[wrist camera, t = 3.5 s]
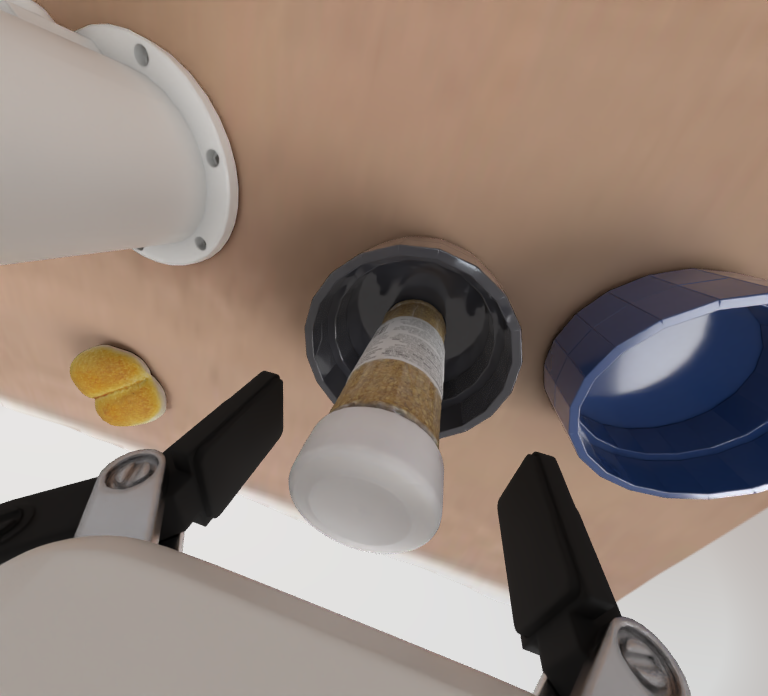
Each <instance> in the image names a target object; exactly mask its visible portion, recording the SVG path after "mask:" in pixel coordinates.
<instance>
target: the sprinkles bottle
mask: <svg viewBox="0 0 768 696" xmlns="http://www.w3.org/2000/svg"><path fill="white" fill-rule="evenodd" d="M445 336H446V326H445V322H444V319H443V317H442V314H441V313H440V312H439V311H438V310H437V309H436V308H435V307H434V306H432V305H431V304H429V303H427V302H424V301H422V300H415V299H412V300H405V301H402V302H399V303H397V304H395V305H394V306H393V307H392V308H390V310H389V311H388V312H387V313H386V315H385V316H384V320H383V322H382V325H381V326H380V327H379V328H378V330H377V331H376V333H375V334H374V336H373V338H372V339H371V341H370V342H369V344H368V346H367V347H366V349H365V351H364V353H363V354H362V356H361V358H360V359H359V361H358V363H357V364H356V366H355V368H354V369H353V371H352V372H351V374H350V376H349V378H348V380H347V382H346V385H345V387H344V388H343V390H342V392H341V394H340V396H339V397H338V399H337V401H336V403H335V404H334V406H333V407H332V409H331V411H330V413H329V414H328V415H326V416H325V417H324V418H322V419H321V420H320V421H319V422H318V423H317V425H316V426H315V427H314V429H313V431H312V432H311V434H310V435H309V437H308V439H307V440H306V442H305V444H304V445H303V447H302V449H301V451H300V453H299V454H298V456H297V458H296V460H295V462H294V464H293V466H292V468H291V471H290V475H289V490H290V495H291V498H292V500H293V502H294V504H295V506H296V508H297V509H298V511H299V512H300V513H301V515H302V516H303V517H304V518H305V519H306V520H307V521H308V522H309V523H310V524H311V525H312V526H313V527H314V528H316V529H317V530H318V531H320V532H321V533H323V534H324V535H326V536H328V537H329V538H331V539H333V540H335V541H337V542H339V543H341V544H343V545H346V546H348V547H351V548H354V549H358V550H361V551H366V552H372V553H379V554H396V553H403V552H408V551H412V550H414V549H417V548H419V547H421V546H423V545H424V544H426V543H427V542H428V541H429V540H430V539H431V538H432V537H433V536H434V535H435V533H436V532H437V530H438V528H439V525H440V522H441V517H442V507H443V480H444V465H443V460H442V456H441V454H440V451H439V432H440V416H441V415H440V414H441V402H442V396H443V382H444V358H445V349H444V341H445Z"/></svg>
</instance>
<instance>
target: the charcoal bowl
mask: <svg viewBox="0 0 768 696" xmlns="http://www.w3.org/2000/svg"><path fill="white" fill-rule="evenodd" d="M412 299H415V300H422V301H424V302H427V303H429V304H431V305H432V306H434V307H435V308H436V309H437V310H438V311H439V312H440V313H441V314H442V317H443V319H444V322H445V326H446V336H445V341H444V349H445V358H444V382H443V396H442V402H441V414H440V415H441V416H440V432H439V439H440V438H444V437H448V436H451V435H455V434H458V433H462V432H466V431H468V430H469V429H471V428H473V427H474V426H476V425H478V424H479V423H481V422H482V421H484V420H486V419H487V418H489V417H491V415H493V414H494V413H495V411H496V410H497V409H498V408H499V407H500V406H501V404H502V403H503V402H504V401H505V400H506V399H507V397H508V396H509V395H510V394H511V392H512V390H513V387H514V384H515V382H516V379H517V376H518V373H519V371H520V368H521V365H522V335H521V327H520V325H519V322H518V320H517V318H516V316H515V313H514V311H513V309H512V307H511V304H510V302H509V300H508V298H507V296H506V294H505V292H504V291H503V289H502V288H501V286H500V285H499V283H498V282H497V280H496V279H495V277H494V276H493V274H492V273H491V272H490V271H489V270H488V269H487V268H486V267H485V266H484V265H483V264H482V263H481V262H480V261H479V260H478V259H477V258H476V257H475V256H474V255H473V254H472V253H471V252H469V251H467V250H465V249H463V248H461V247H459V246H456V245H454V244H452V243H450V242H448V241H446V240H444V239H438V238H428V237H418V236H408V237H403V238H399V239H395V240H391V241H387V242H383V243H380V244H378V245H376V246H374V247H372V248H370V249H368V250H366V251H364V252H362V253H360V254H359V255H357V256H356V257H354V258H353V259H351V260H350V261H348V262H347V263H345V264H344V265H342V266H341V267H339V268H338V269H336V270H335V271H333V272H332V273H331V274H330V275H329V276H328V278H327V279H326V281H325V282H324V283H323V285H322V286H321V288H320V289H319V290H318V292H317V293H316V294H315V296H314V297H313V299H312V302H311V306H310V309H309V313H308V317H307V320H306V324H305V341H306V354H307V358H308V361H309V363H310V366H311V368H312V371H313V373H314V376H315V379H316V381H317V383H318V384H319V385H320V387H321V388H322V389H323V391H324V392H325V393H326V395H327V396H328V397H329V399H330V400H331V401H332V403H333V404H335V403H336V401H337V399H338V397H339V396H340V394H341V392H342V390H343V388H344V387H345V385H346V382H347V380H348V378H349V376H350V374H351V372H352V371H353V369H354V368H355V366H356V364H357V363H358V361H359V359H360V358H361V356H362V354H363V353H364V351H365V349H366V347H367V346H368V344H369V342H370V341H371V339H372V338H373V336H374V334H375V333H376V331H377V330H378V328H379V327H380V326H381V325H382V322H383V320H384V316H385V315H386V313H387V312H388V311H389V310H390V308H392V307H393V306H394V305H395V304H397V303H399V302H402V301H405V300H412Z"/></svg>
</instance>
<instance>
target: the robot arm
mask: <svg viewBox="0 0 768 696" xmlns="http://www.w3.org/2000/svg"><path fill="white" fill-rule="evenodd" d="M238 191H239V187H238V179H237V171H236V164H235V161H234V157H233V153H232V149H231V146H230V142H229V140H228V137H227V135H226V132H225V130H224V127H223V125H222V122H221V120H220V118H219V116H218V114H217V112H216V111H215V109H214V107H213V105H212V103H211V102H210V100H209V98H208V96H207V95H206V93H205V92H204V91H203V89H202V88H201V87H200V85H199V84H198V83H197V81H196V80H195V79H194V77H193V76H192V75H191V73H190V72H189V71H188V70H186V69H185V68H184V67H183V66H182V65H181V64H180V63H179V62H178V61H177V60H176V59H175V58H174V57H173V56H172V55H171V54H169V53H168V52H166V51H165V50H164V49H162V48H161V47H159V46H158V45H156V44H155V43H153V42H152V41H150V40H148V39H146V38H144V37H142V36H140V35H138V34H136V33H134V32H133V31H131V30H129V29H126V28H123V27H119V26H115V25H111V24H90V25H88V26H85V27H83V28H81V29H78V30H76V31H74V32H73V31H71V30H69V29H67V28H65V27H63V26H60V25H58V24H56V23H55V22H54V20H53V19H52V18H51V16H50V15H49V14H48V13H47V12H46V10H45V9H44V8H42V7H41V6H39V5H38V4H37V3H35V2H34V1H32V0H0V265H7V264H15V263H23V262H31V261H39V260H47V259H55V258H62V257H70V256H78V255H86V254H94V253H102V252H110V251H118V250H126V249H133V250H134V251H136V252H137V253H139V254H141V255H142V256H144V257H146V258H149V259H151V260H153V261H156V262H159V263H163V264H167V265H189V264H194V263H199V262H202V261H204V260H206V259H209V258H211V257H212V256H214V255H215V254H216V253H217V252H219V251H220V250H221V249H222V247H223V246H224V245H225V243H226V242H227V241H228V239H229V237H230V235H231V232H232V230H233V228H234V225H235V221H236V216H237V211H238ZM282 432H283V381H282V380H281V379H280V377H279V375H277V374H274V373H271V372H267V371H262V372H261V373H260V374H258V375H257V376H256V377H255V378H254V379H252V380H251V381H250V382H249V383H248V384H246V385H245V386H244V387H243V388H242V389H240V390H239V391H238V392H237V393H235V394H234V395H233V396H232V397H231V398H229V399H228V400H226V401H225V402H224V403H222V404H221V405H220V406H219V407H217V408H216V409H215V410H214V411H213V412H211V413H210V414H209V415H208V416H207V417H205V418H204V419H203V420H202V421H201V422H199V423H198V424H197V425H196V426H194V427H193V428H192V429H191V430H190V431H188V432H187V433H186V434H185V435H184V436H182V437H181V438H180V439H179V440H178V441H176V442H175V443H174V444H173V445H171V446H170V447H169V448H168V449H167V450H165V451H164V452H163V453H162V452H159V451H157V450H153V449H143V450H137V451H133V452H130V453H127V454H125V455H123V456H121V457H119V458H117V459H115V460H114V461H113V462H111V463H109V464H108V465H107V466H106V467H105V468H104V469H103V470H102V471H101V473H100V475H99V476H98V477H96V478H92V479H89V480H85V481H81V482H78V483H74V484H70V485H66V486H63V487H59V488H56V489H52V490H48V491H44V492H40V493H37V494H33V495H30V496H26V497H22V498H18V499H15V500H11V501H8V502H5V503H2V504H0V696H691V694H690V690H689V687H688V684H687V681H686V679H685V676H684V674H683V673H682V671H681V669H680V667H679V665H678V663H677V662H676V660H675V659H674V658H673V656H672V655H671V653H670V652H669V651H668V649H667V648H666V647H665V646H664V645H663V644H662V642H661V641H660V640H659V639H658V638H657V637H656V636H655V635H654V634H653V633H652V632H650V631H649V630H648V629H646V628H645V627H644V626H643V625H642V624H640V623H638V622H636V621H635V620H633V619H630V618H626V617H622V616H621V614H620V611H619V609H618V606H617V604H616V601H615V599H614V597H613V594H612V592H611V589H610V587H609V584H608V582H607V580H606V577H605V575H604V572H603V570H602V567H601V565H600V563H599V560H598V558H597V555H596V553H595V550H594V548H593V546H592V543H591V541H590V538H589V536H588V533H587V531H586V529H585V526H584V524H583V521H582V519H581V516H580V514H579V512H578V510H577V508H576V507H575V505H574V502H573V500H572V498H571V495H570V493H569V490H568V488H567V485H566V483H565V480H564V478H563V475H562V473H561V471H560V468H559V466H558V463H557V461H556V459H555V458H554V457H552V456H549V455H546V454H542V453H539V452H534V453H533V454H532V455H531V454H528V455H527V456H526V457H525V459H524V460H523V462H522V464H521V465H520V467H519V468H518V470H517V472H516V473H515V475H514V476H513V478H512V479H511V481H510V483H509V484H508V486H507V487H506V489H505V490H504V492H503V494H502V495H501V497H500V498H499V501H498V516H499V523H500V530H501V537H502V544H503V551H504V558H505V565H506V572H507V579H508V586H509V593H510V600H511V607H512V614H513V620H514V626H515V629H516V631H517V633H519V634H521V641H522V647H523V649H525V650H527V651H530V652H533V653H535V654H538V655H540V659H541V664H542V669H543V674H542V676H541V678H540V680H539V682H538V684H537V686H536V688H535V690H534V692H533V694H532V693H529V692H527V691H525V690H522V689H520V688H518V687H515V686H513V685H511V684H509V683H506V682H504V681H501V680H499V679H497V678H495V677H492V676H490V675H488V674H485V673H483V672H480V671H478V670H475V669H473V668H471V667H468V666H465V665H463V664H461V663H458V662H456V661H453V660H451V659H448V658H446V657H443V656H441V655H439V654H436V653H434V652H431V651H429V650H426V649H424V648H422V647H419V646H417V645H414V644H412V643H409V642H407V641H404V640H402V639H399V638H397V637H394V636H392V635H390V634H387V633H385V632H382V631H379V630H377V629H375V628H372V627H370V626H367V625H365V624H362V623H360V622H357V621H355V620H352V619H350V618H347V617H345V616H342V615H340V614H337V613H335V612H332V611H330V610H327V609H325V608H322V607H320V606H318V605H315V604H312V603H310V602H308V601H305V600H302V599H300V598H297V597H295V596H293V595H290V594H288V593H285V592H282V591H280V590H277V589H275V588H272V587H270V586H267V585H265V584H262V583H260V582H257V581H254V580H252V579H250V578H247V577H245V576H242V575H240V574H237V573H234V572H232V571H229V570H227V569H224V568H221V567H219V566H217V565H214V564H211V563H209V562H206V561H203V560H200V559H198V558H195V557H193V556H190V555H187V554H184V553H182V551H183V540H184V531H186V529H187V528H188V527H189V526H190V524H191V523H192V522H195V523H198V524H200V525H203V526H207V524H208V523H209V522H210V520H211V519H212V518H217V517H218V516H219V515H220V514H221V513H222V512H223V510H224V509H225V508H226V507H227V505H228V504H229V503H230V502H231V500H232V499H233V498H234V496H235V495H236V494H237V493H238V491H239V490H240V489H241V487H242V486H243V485H244V483H245V482H246V481H247V480H248V478H249V477H250V476H251V474H252V473H253V472H254V471H255V469H256V468H257V467H258V465H259V464H260V463H261V462H262V460H263V459H264V458H265V456H266V455H267V454H268V452H269V451H270V450H271V449H272V447H273V446H274V445H275V443H276V442H277V441H278V440H279V438H280V437H281V435H282Z"/></svg>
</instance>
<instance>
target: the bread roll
mask: <svg viewBox="0 0 768 696" xmlns="http://www.w3.org/2000/svg"><path fill="white" fill-rule="evenodd" d="M70 375H71V378H72V380H73V382H74V383H75V385H76V386H77V387H78V389H79V390H80V391H81V392H82V393H83V394H84V395H86V396H87V397H89V398H95V407H96V411H97V413H98V414H99V416H100V417H101V418H102V419H103V420H104V421H106V422H107V423H109V424H111V425H114V426H134V425H135V426H136V425H140V424H146V423H148V422H151V421H154V420H156V419H157V418H159V417H160V416H162V415H163V414H164V412H165V411H166V404H167V402H166V396H165V392H164V390H163V388H162V387H161V385H160V384H159V382H158V381H157V380H156V379H155V378H154V377H153V376H151V374H150V370H149V368H148V367H147V365H146V364H145V362H144V361H143V360H142V359H140V358H139V357H138V356H136V355H134V354H133V353H131V352H128V351H125V350H122V349H119V348H116V347H113V346H109V345H98V346H95V347H92V348H89V349H87V350H85V351H83V352H82V353H80V354H79V355H78V356H77V357H76V358H75V359H74V360H73V362H72V364H71V366H70Z"/></svg>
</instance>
